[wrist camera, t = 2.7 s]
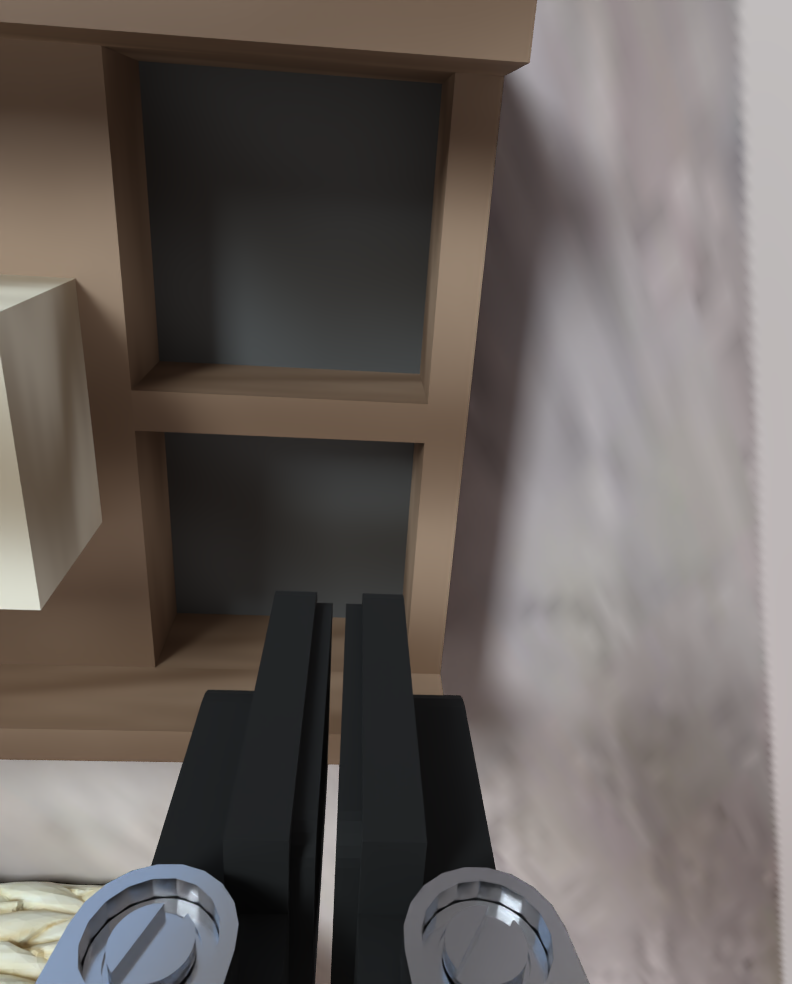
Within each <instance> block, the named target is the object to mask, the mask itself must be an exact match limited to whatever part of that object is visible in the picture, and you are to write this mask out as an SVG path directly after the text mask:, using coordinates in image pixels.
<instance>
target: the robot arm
mask: <svg viewBox="0 0 792 984" xmlns="http://www.w3.org/2000/svg"><path fill="white" fill-rule="evenodd" d="M317 600H318V599H317V592H312V591H281V590H276V591H275V595H274V600H273V604H272V609H271V614H270V619H269V623H268V628H267V633H266V637H265V642H264V647H263V652H262V656H261V661H260V666H259V671H258V675H257V680H256V685H255V690H254V691H247V690H207V691H206V692H205V694H204V697H203V699H202V702H201V705H200V709H199V712H198V715H197V718H196V722H195V725H194V728H193V731H192V735H191V738H190V741H189V744H188V748H187V751H186V754H185V757H184V761H183V764H182V767H181V770H180V774H179V777H178V780H177V784H176V787H175V790H174V793H173V797H172V800H171V803H170V806H169V810H168V813H167V816H166V819H165V823H164V826H163V829H162V832H161V836H160V839H159V842H158V845H157V849H156V852H155V855H154V859H153V862H152V865H151V866H149V867H145V868H141V869H137V870H133V871H131V872H129V873H127V874H125V875H123V876H121V877H119V878H117V879H115V880H113V881H111V882H109V883H107V884H106V885H105V886H103V887H102V888H101V889H100V890H99V891H97V892H96V893H95V894H94V895H92V896H91V897H90V898H89V899H88V900H86V901H85V902H84V904H83V905H82V906H81V908H80V909H79V910H78V912H77V913H76V914H75V916H74V917H73V918H72V920H71V921H70V922H69V924H68V925H67V927H66V929H65V931H64V933H63V934H62V936H61V938H60V940H59V941H58V943H57V945H56V947H55V949H54V950H53V952H52V954H51V956H50V957H49V959H48V961H47V963H46V965H45V966H44V968H43V970H42V972H41V974H40V975H39V977H38V979H37V981H36V982H35V984H315V974H316V958H317V941H318V924H319V907H320V891H321V874H322V857H323V840H324V824H325V807H326V790H327V770H328V741H329V711H330V680H331V650H332V619H333V603H317ZM331 984H589V981H588V979H587V977H586V974H585V972H584V970H583V967H582V965H581V963H580V960H579V958H578V956H577V953H576V951H575V949H574V946H573V944H572V942H571V939H570V937H569V935H568V932H567V930H566V928H565V926H564V924H563V922H562V921H561V919H560V917H559V916H558V914H557V912H556V911H555V909H554V907H553V906H552V904H550V903H549V902H548V901H547V900H546V899H545V898H544V897H543V896H542V895H541V894H540V893H539V892H538V891H537V890H536V889H535V888H534V887H533V886H531V885H529V884H527V883H526V882H524V881H522V880H520V879H519V878H517V877H515V876H513V875H512V874H508V873H505V872H501V871H498V870H496V868H495V863H494V857H493V852H492V847H491V842H490V836H489V831H488V826H487V821H486V815H485V810H484V805H483V800H482V794H481V789H480V784H479V779H478V773H477V768H476V763H475V758H474V752H473V747H472V742H471V737H470V731H469V726H468V721H467V716H466V710H465V706H464V702H463V699H462V697H461V696H455V695H413V688H412V678H411V667H410V657H409V647H408V636H407V626H406V615H405V605H404V596H403V594H375V593H363V594H362V604H346V618H345V643H344V667H343V692H342V716H341V741H340V765H339V790H338V815H337V840H336V865H335V889H334V914H333V939H332V964H331Z"/></svg>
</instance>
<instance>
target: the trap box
mask: <svg viewBox="0 0 792 984" xmlns="http://www.w3.org/2000/svg"><path fill="white" fill-rule="evenodd" d="M536 4H537V0H0V274H4V275H22V276H40V277H58V278H75V281H76V290H77V299H78V308H79V317H80V326H81V335H82V344H83V353H84V362H85V371H86V380H87V389H88V398H89V407H90V416H91V425H92V433H93V442H94V451H95V460H96V469H97V478H98V487H99V496H100V505H101V514H102V523H101V525H100V526H99V528H98V529H97V530H96V532H95V533H94V535H93V536H92V538H91V539H90V540H89V542H88V543H87V545H86V546H85V548H84V549H83V551H82V552H81V553H80V555H79V556H78V558H77V559H76V561H75V562H74V563H73V565H72V566H71V568H70V569H69V571H68V572H67V573H66V575H65V576H64V578H63V579H62V581H61V582H60V583H59V585H58V586H57V588H56V589H55V591H54V592H53V593H52V595H51V596H50V598H49V599H48V601H47V602H46V603H45V605H44V606H43V608H42V609H41V610H13V609H0V759H8V760H75V761H142V762H183V761H184V757H185V754H186V751H187V748H188V744H189V741H190V738H191V735H192V731H193V728H194V725H195V722H196V718H197V715H198V712H199V709H200V705H201V702H202V699H203V697H204V694H205V692H206V691H207V690H247V691H254V690H255V685H256V680H257V675H258V671H259V666H260V661H261V656H262V652H263V647H264V642H265V637H266V633H267V628H268V623H269V619H270V614H271V609H272V604H273V600H274V595H275V591H276V590H281V591H312V592H317V599H318V600H317V603H333V619H332V650H331V680H330V711H329V741H328V764H340V741H341V716H342V692H343V667H344V643H345V618H346V604H362V594H363V593H375V594H403V596H404V605H405V615H406V626H407V636H408V647H409V657H410V667H411V678H412V688H413V695H443V688H442V682H441V675H440V672H441V663H442V653H443V644H444V635H445V625H446V616H447V607H448V597H449V588H450V579H451V569H452V560H453V551H454V541H455V532H456V523H457V513H458V504H459V494H460V485H461V476H462V466H463V457H464V448H465V438H466V429H467V420H468V410H469V401H470V392H471V382H472V373H473V364H474V354H475V345H476V335H477V326H478V317H479V307H480V298H481V289H482V279H483V270H484V261H485V251H486V242H487V233H488V223H489V214H490V205H491V195H492V186H493V176H494V167H495V158H496V148H497V139H498V130H499V120H500V111H501V102H502V92H503V83H504V76H505V75H507V74H509V73H511V72H513V71H515V70H517V69H519V68H521V67H522V66H524V65H526V64H528V63H530V55H531V47H532V38H533V30H534V21H535V13H536Z"/></svg>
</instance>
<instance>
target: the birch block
mask: <svg viewBox="0 0 792 984" xmlns="http://www.w3.org/2000/svg"><path fill="white" fill-rule="evenodd" d="M101 523H102V514H101V505H100V496H99V487H98V478H97V469H96V460H95V451H94V442H93V433H92V425H91V416H90V407H89V398H88V389H87V380H86V371H85V362H84V353H83V344H82V335H81V326H80V317H79V308H78V299H77V290H76V281H75V278H58V277H40V276H22V275H4V274H0V609H13V610H41V609H42V608H43V606H44V605H45V603H46V602H47V601H48V599H49V598H50V596H51V595H52V593H53V592H54V591H55V589H56V588H57V586H58V585H59V583H60V582H61V581H62V579H63V578H64V576H65V575H66V573H67V572H68V571H69V569H70V568H71V566H72V565H73V563H74V562H75V561H76V559H77V558H78V556H79V555H80V553H81V552H82V551H83V549H84V548H85V546H86V545H87V543H88V542H89V540H90V539H91V538H92V536H93V535H94V533H95V532H96V530H97V529H98V528H99V526H100V525H101Z"/></svg>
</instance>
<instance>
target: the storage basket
mask: <svg viewBox="0 0 792 984" xmlns="http://www.w3.org/2000/svg"><path fill="white" fill-rule="evenodd" d="M105 885H106V884H105ZM105 885H103V886H105ZM103 886H99V885H71V884H59V883H53V882H10V883H0V984H35V982H36V981H37V979H38V977H39V975H40V974H41V972H42V970H43V968H44V966H45V965H46V963H47V961H48V959H49V957H50V956H51V954H52V952H53V950H54V949H55V947H56V945H57V943H58V941H59V940H60V938H61V936H62V934H63V933H64V931H65V929H66V927H67V925H68V924H69V922H70V921H71V920H72V918H73V917H74V916H75V914H76V913H77V912H78V910H79V909H80V908H81V906H82V905H83V904H84V902H85V901H86V900H88V899H89V898H90V897H91V896H92V895H94V894H95V893H96V892H97V891H99V890H100V889H101V888H102V887H103Z"/></svg>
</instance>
